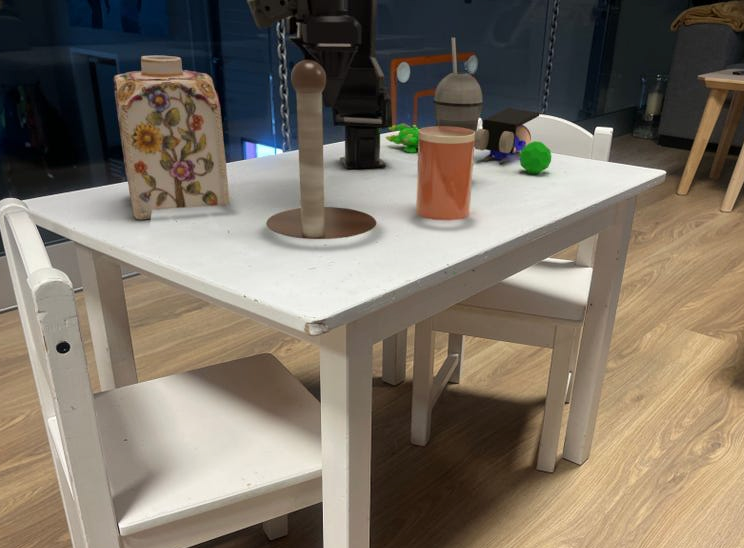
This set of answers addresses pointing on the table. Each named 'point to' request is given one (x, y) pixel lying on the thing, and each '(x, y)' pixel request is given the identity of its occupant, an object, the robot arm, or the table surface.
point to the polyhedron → (535, 157)
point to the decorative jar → (170, 137)
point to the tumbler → (444, 172)
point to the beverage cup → (458, 99)
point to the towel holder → (314, 169)
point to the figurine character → (504, 133)
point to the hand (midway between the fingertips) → (322, 101)
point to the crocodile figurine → (405, 137)
